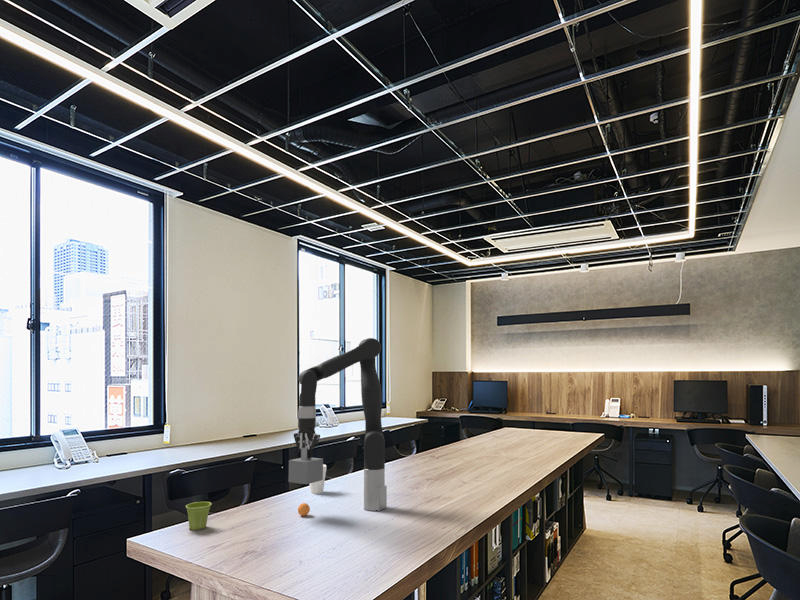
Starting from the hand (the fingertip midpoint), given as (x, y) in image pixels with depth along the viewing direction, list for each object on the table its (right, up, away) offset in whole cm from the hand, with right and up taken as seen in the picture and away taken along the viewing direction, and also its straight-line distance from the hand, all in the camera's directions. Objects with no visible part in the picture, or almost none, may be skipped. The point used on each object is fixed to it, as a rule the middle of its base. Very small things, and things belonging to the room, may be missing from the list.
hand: (306, 457), depth 217 cm
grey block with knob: (0, -9, -1) cm, 10 cm away
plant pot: (-39, -22, -19) cm, 49 cm away
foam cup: (-2, -29, +37) cm, 47 cm away
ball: (-1, -21, -3) cm, 21 cm away
